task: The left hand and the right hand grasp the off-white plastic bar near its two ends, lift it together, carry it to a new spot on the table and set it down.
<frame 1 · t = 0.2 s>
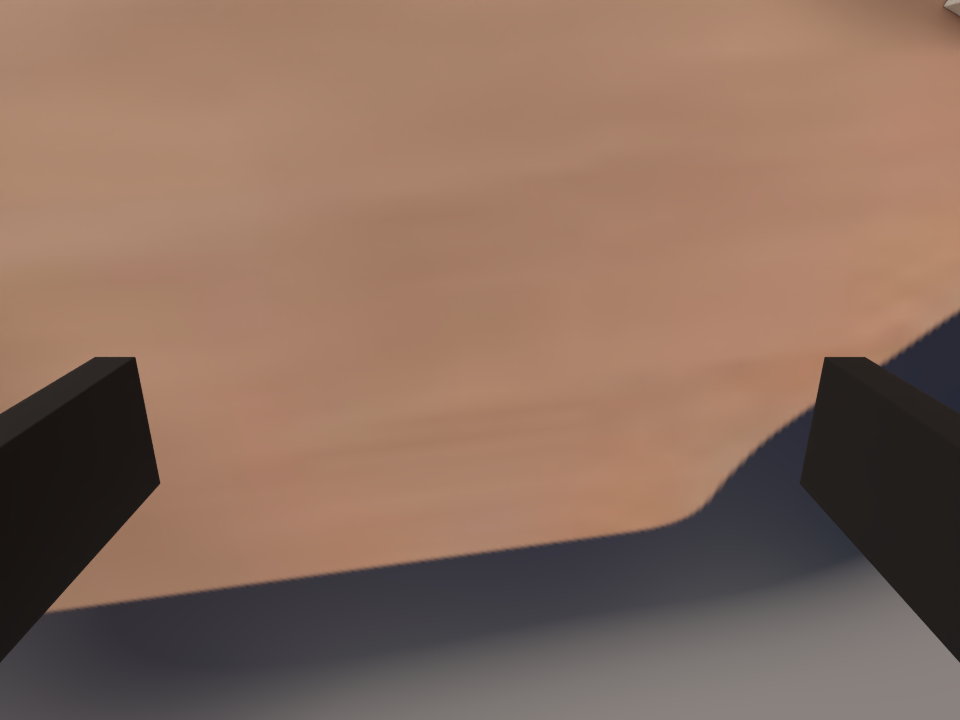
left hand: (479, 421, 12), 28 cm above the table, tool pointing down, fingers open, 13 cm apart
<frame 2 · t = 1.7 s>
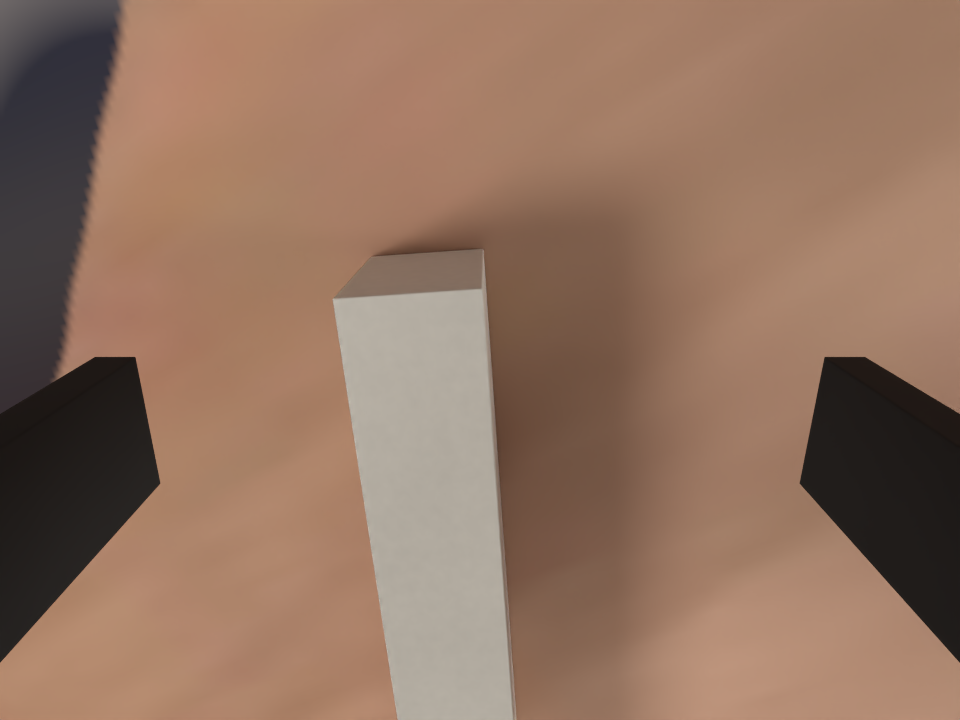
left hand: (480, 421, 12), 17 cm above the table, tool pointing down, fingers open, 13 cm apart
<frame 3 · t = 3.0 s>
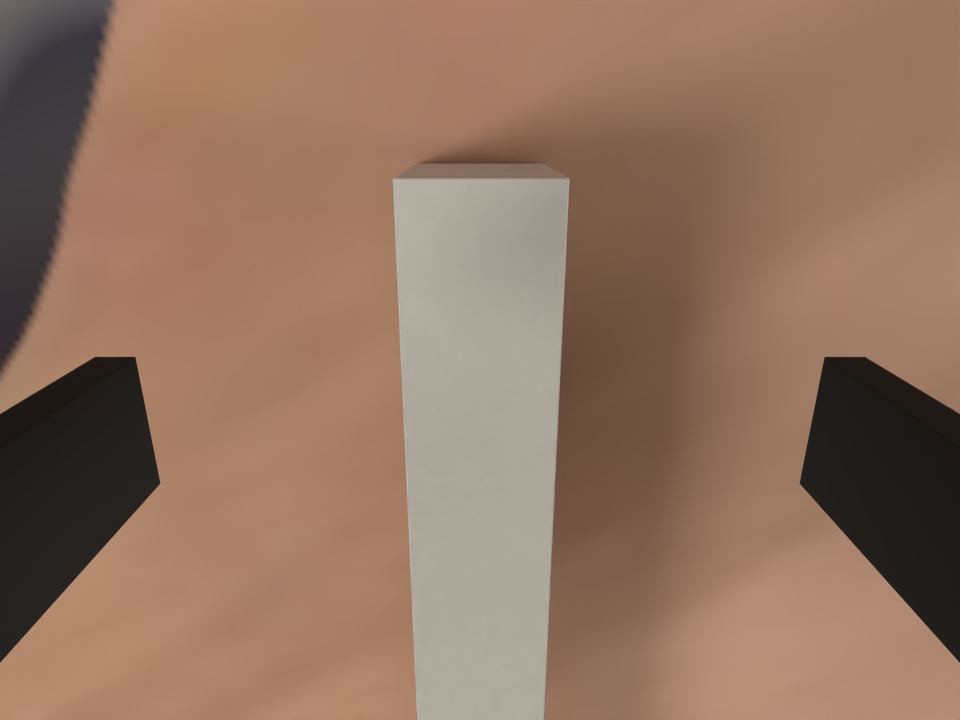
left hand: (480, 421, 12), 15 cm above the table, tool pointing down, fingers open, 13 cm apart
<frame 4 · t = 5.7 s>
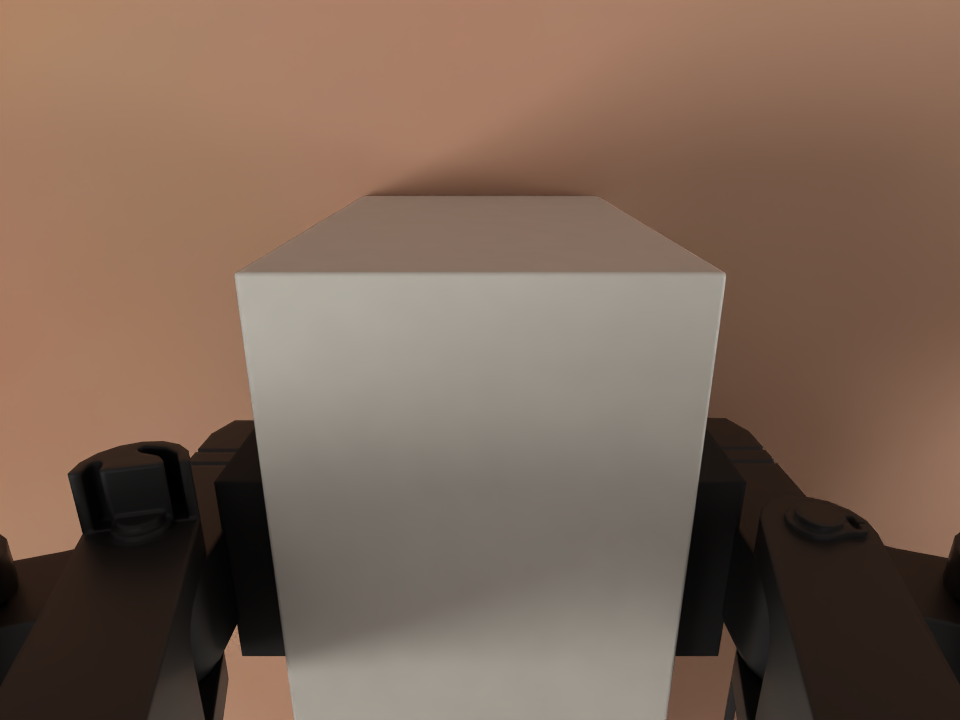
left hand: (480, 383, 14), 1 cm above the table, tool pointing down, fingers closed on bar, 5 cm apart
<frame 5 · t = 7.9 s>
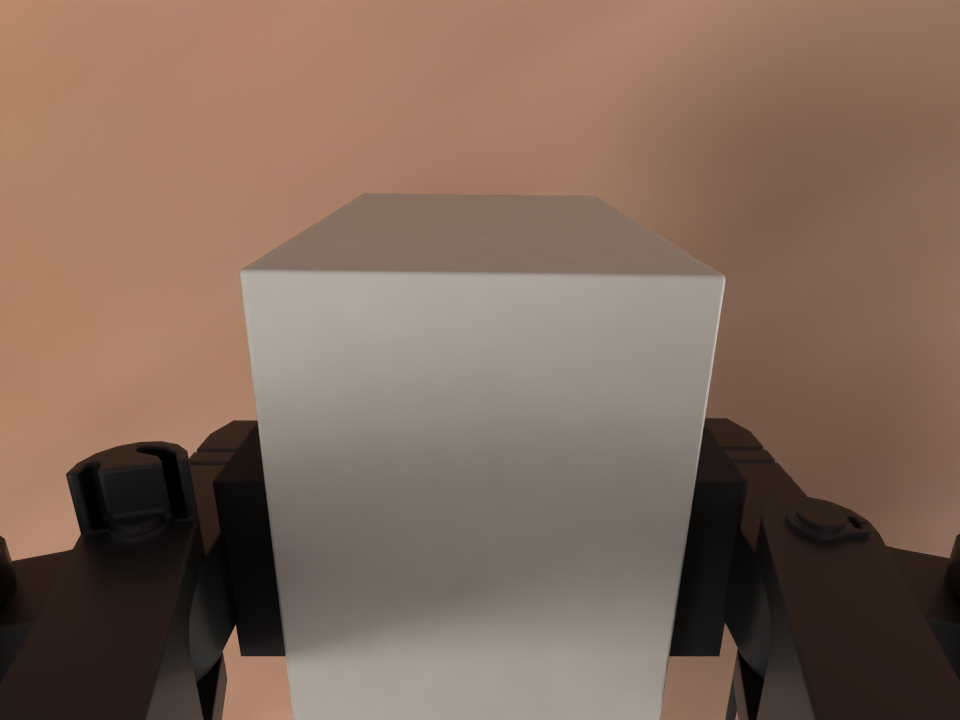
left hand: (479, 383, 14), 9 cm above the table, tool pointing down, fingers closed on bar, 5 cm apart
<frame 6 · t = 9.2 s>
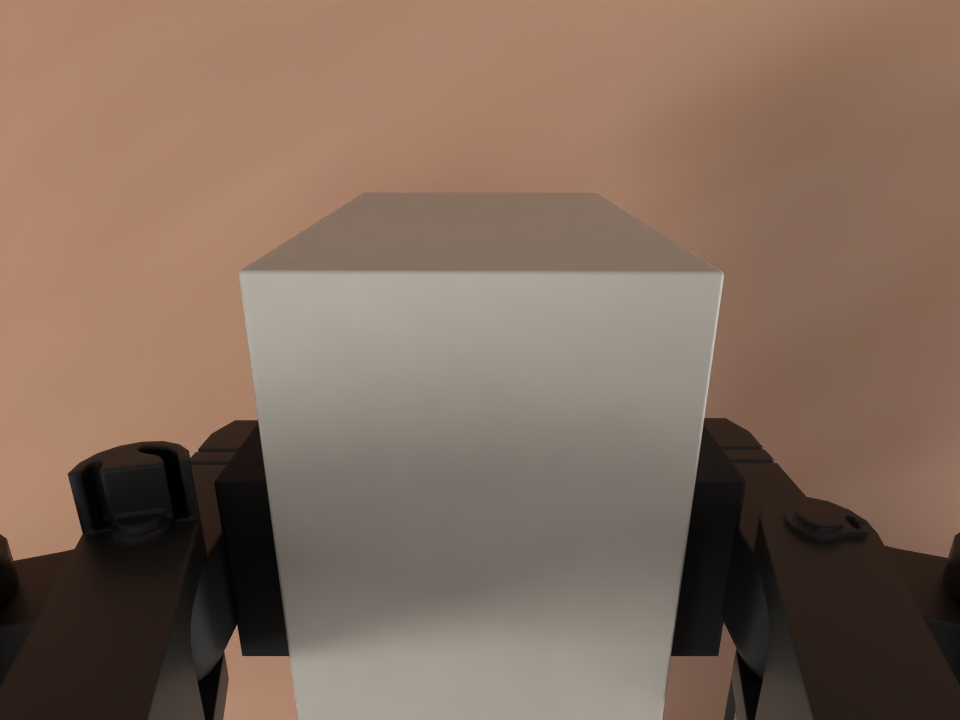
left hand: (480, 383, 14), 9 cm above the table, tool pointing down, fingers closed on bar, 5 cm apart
when the left hand's fingers open (2 cm above the table, at t = 10.2 s): bar drops 2 cm, on the table.
when the right hand's fingers open (4 cm above the table, at t = 10.4 s): bar stays where it is, on the table.
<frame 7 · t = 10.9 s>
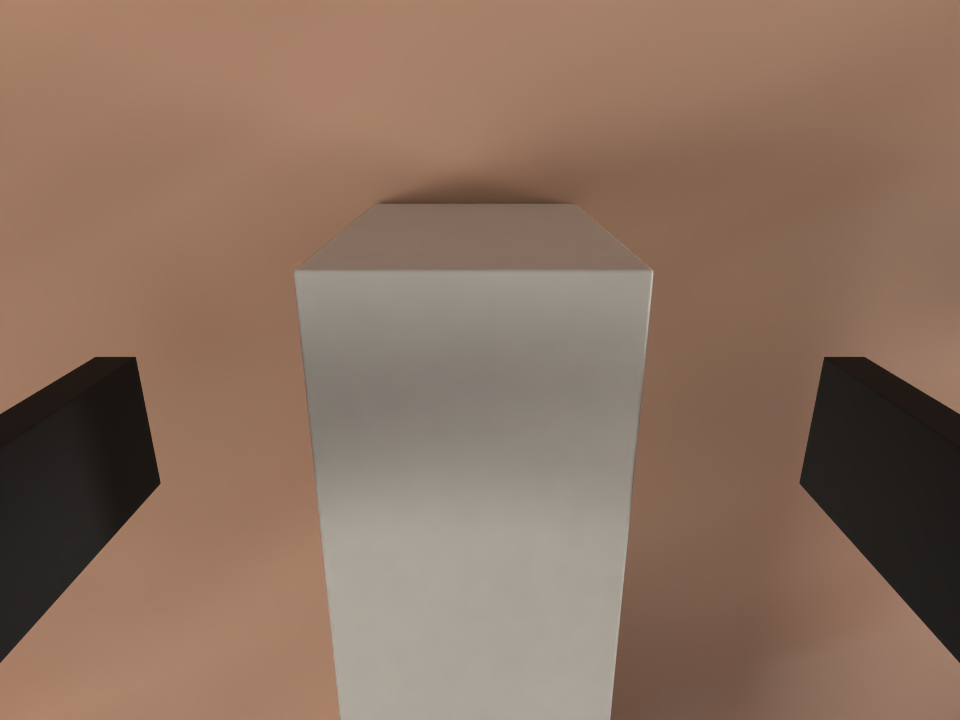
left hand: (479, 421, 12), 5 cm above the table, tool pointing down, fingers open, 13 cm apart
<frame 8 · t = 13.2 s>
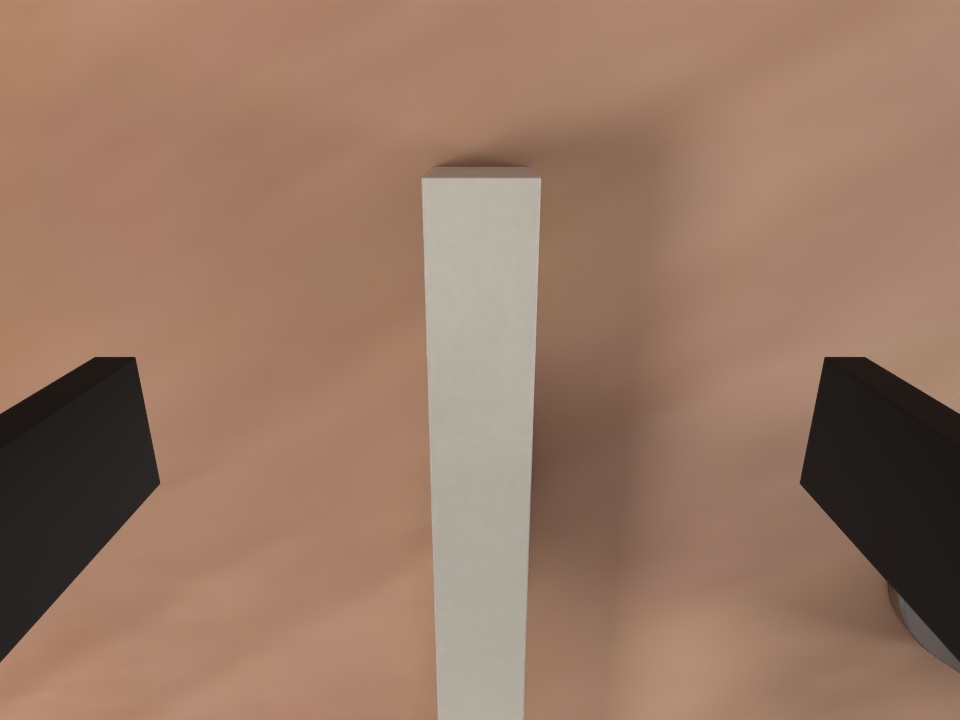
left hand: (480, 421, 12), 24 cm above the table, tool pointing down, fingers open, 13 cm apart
bar: (480, 638, 44), on the table
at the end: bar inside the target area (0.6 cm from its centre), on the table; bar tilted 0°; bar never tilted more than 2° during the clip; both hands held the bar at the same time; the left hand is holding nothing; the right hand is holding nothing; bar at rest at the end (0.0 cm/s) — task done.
